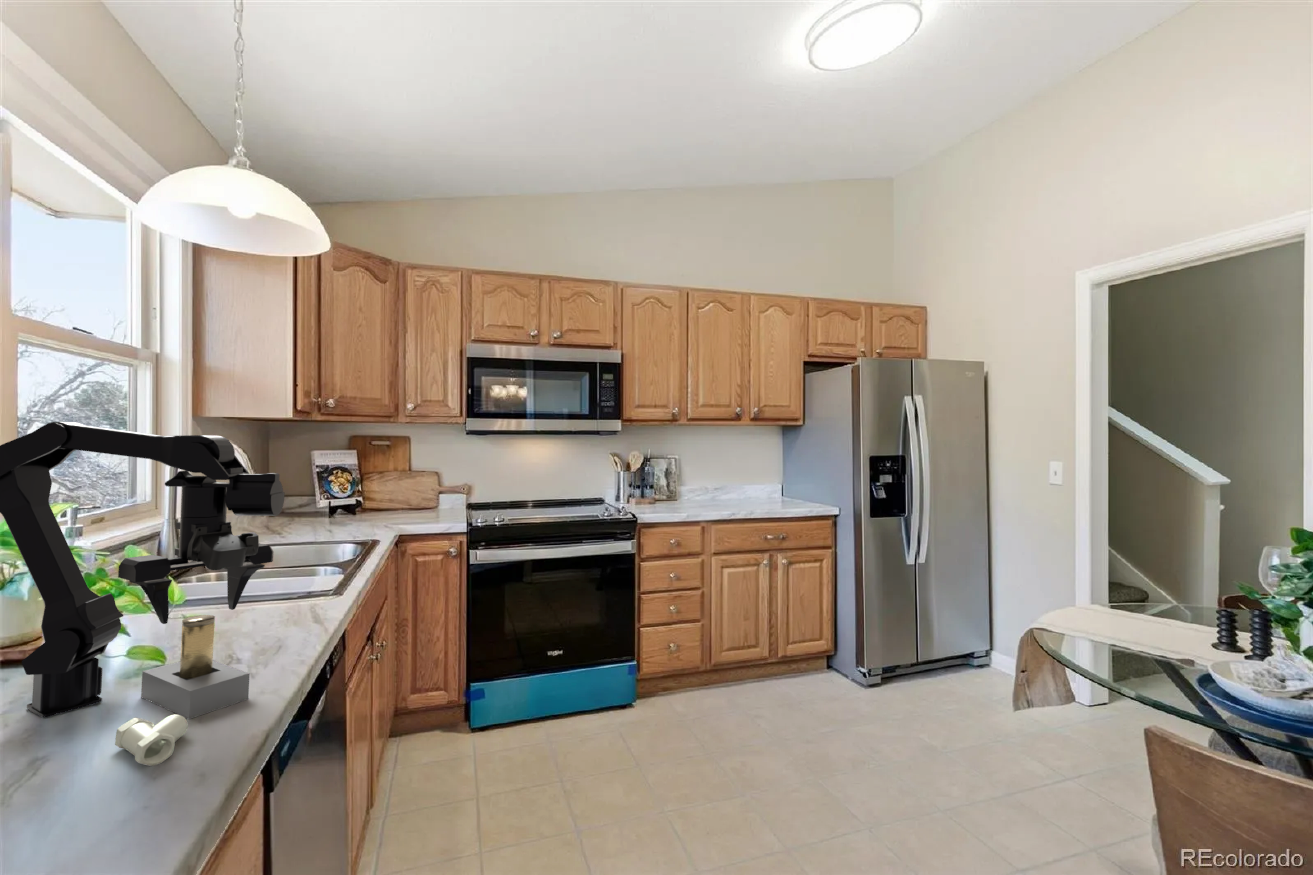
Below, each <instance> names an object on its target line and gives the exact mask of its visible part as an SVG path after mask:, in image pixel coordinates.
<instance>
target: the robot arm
mask: <svg viewBox="0 0 1313 875" xmlns="http://www.w3.org/2000/svg"><path fill="white" fill-rule="evenodd" d="M75 451H82V452H91V453H97V454H98V453H99V454H107V455H115V456H123V457H131V458H138V459H145V460H146V459H147V460H153V461H156V462H159V463H162V464H163V465H166V466H168V467H171V468H175V469H178V470H179V471H178V472H177V473H176V474H175V475H174V476H172V477H171V478H170V479H168V480H166V481H165V482H164V486H165V487H170V488H171V487H175V488H176V487H181V500H180V518H179V519H180V521H175V529H177V530H179V544H178V547H176V548H174V556H177V557H172V558H171V557H164V556H160V555H156V554H148V555H140V556H132V557H131V556H130V557H125V558H123V560H122V561H120V563H119V565H118V570H117V571H118V576H117V577H118V578H119V579H122V580H127V581H129V583H132V584H135V585H139V586H140V588H141V589H142V590H143V592H144V594H145V595H146V597H147V598H148V600H149V601H150V604H151V606H152V608H153V610H154V612H155V613H156V615H157V618H158V620H159V622H160V624H163V625H166V624H168V621H169V615H170V612H169V606H170V605H169V588H170V586H171V584H172V582H173V579H170V578H167V577H168V575H169V574H171V571H172V572H173V571H179V570H187V569H194V568H200V567H206V568H207V569H208V570H210V571H221V570H222V569H226V571H227V574H226V575H227V577H226V578H227V606H228V610H235V609H236V607H237V605H238V603H239V601H240V598H241V597H242V594H243V592H244V590H245V588H246V585H247V584H248V582H249V580H250V579H251V577H252V576H253V574H255V573H256V572H257V571H259V570H261V569H264V567H265V564H267V563H268V564H269V563H273V562H274V550H273V548H272V547H271V546H270V545H269V544H265V543H260V542H259V540H260V539H259V535H258V534H257V532H254V531H253V532H252V531H251V532H243V533H241V534H236V535H233V531H232V527H233V526H232V524H231V523H232V522H230V521H227V512H228V511H231V512H232V513H233V514H234V516H239V517H240V516H241V517H242V516H244V517H247V516H250V517H251V516H253V517H255V516H256V517H257V516H258V517H260V516H265V517H266V516H267V517H268V516H270V517H271V516H273V517H277V516H279V515H280V513H281V512H282V510H283V507H284V503H285V492H284V489H283V485H282V482H281V480H280V476H281V475H280V473H279V472H276V473H275V472H270V473H269V472H267V473H250V472H249V471H248V470H247V469H246V467H245V466H244V465H243V464H242V462H241V461H240V459H238V457H237V456H236V455H235V454H236V453H235V452H236V451H235V448H234V445H233V444H232V443H231V441H230V440H229V439H228V438H226V437H225V436H221V435H203V434H202V435H201V434H199V435H198V434H197V435H196V434H193V435H189V434H188V435H159V434H153V433H144V432H136V431H130V430H129V431H128V430H124V429H123V430H122V429H115V428H107V427H100V426H92V425H85V424H82V423H79V422H75V421H74V422H73V421H51V422H48V423H46V424H44V425H42V426H40V427H39V428H37V429H36V430H33V431H32V432H30V433H27V434H24V435H22V436H20V437H18V438H15V439H13V440H10V441H7V442H5V443H2V444H0V514H1V516H2V517H3V519H4V522H5V524H6V525H7V527H8V530H9V531H10V534H11V535H12V536H11V537H13V540H14V542H15V545H16V546H17V548H18V550H19V552H20V555H21V556H22V559H23V561H24V564H25V565H26V567H27V570H28V572H29V573H30V576H31V578H32V580H33V582H34V584H35V586H36V588H37V590H38V592H39V595H40V597H41V599H42V601H43V604H44V609H43V613H42V614H43V615H42V620H41V626H40V627H41V628H40V629H41V633H42V635H43V636H42V637H43V641H44V642H43V643H42V644H41V645H40V646H38V647H37V648H36V649H35V650H34V651H32V652H31V653H30V654H28V655H27V656H26V657H24V659H22V660H21V665H22V667H23V670H24V672H25V674H26V675H27V676H30V675H31V676H33V679H32V680H33V682H32V694H31V696H32V698H31V699H32V700H31V703H28V704H27V705H26V709H27V710H29V711H31V712H33V713H34V714H36V715H38V716H39V717H41V718H43V719H44V718H50V717H53V716H56V715H59V714H63V713H67V712H72V711H75V710H78V709H81V708H85V707H88V706H92V705H95V704H98V703H101V702H103V698H102V697H100V695H101V694H102V685H103V684H102V683H103V667H101V666H100V665H99V660H100V659H99V658H97V657H98V656H99V655H102V654H104V653H105V651H106V650H107V647H108V645H109V643H111V642H113V641H114V640H115V639H116V638H117V636H118V634H119V633H120V631H121V630H122V622H121V621H122V620H121V619H120V618H123V617H124V613H122V612H121V611H120V610H119V609H118V608H117V604H116V601H115V596H114V595H113V594H112V593H110V592H109V593H106V594H104V595H102V596H100V595H98V594H97V593H96V592H95V591H93V590H91V588H90V587H89V586H88V585H87V582H86V580H85V578H84V576H83V574H82V572H81V569H80V567H79V565H78V564H77V561H76V559H75V557H74V554H73V552H72V550H71V548H70V546H69V544H68V542H67V539H66V537H65V535H64V533H63V531H62V529H61V526H60V524H59V522H58V520H57V518H56V515H55V514H54V512H53V509H52V507H51V505H50V494H51V489H52V485H53V484H52V483H53V482H52V477H51V473H50V471H51V470H53V469H54V468H56V467H58V466H60V465H61V464H63V463H64V462H65V461H66V460H67V459H68V458H69V457H70V456H71V455H72V454H73V452H75ZM191 473H194V474H199V473H200V474H202V475H192V474H191ZM218 481H219V482H218ZM221 481H224V482H221ZM225 481H229V482H225Z"/></svg>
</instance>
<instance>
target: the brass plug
mask: <svg viewBox="0 0 1313 875" xmlns="http://www.w3.org/2000/svg"><path fill="white" fill-rule="evenodd" d="M215 619H216V616H215V615H212V614H201V615H194V616H189V617H186V618H185V617H184V618H183V619H182V622H181V625H182V626H181V642H180V661H179V662H180V678H184V679H191V678H196V677H200V676H203V675H207V674H210V673H211V672H212V665H213V660H214V642H215V640H214V639H215V621H216V620H215Z"/></svg>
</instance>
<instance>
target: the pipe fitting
mask: <svg viewBox="0 0 1313 875" xmlns="http://www.w3.org/2000/svg"><path fill="white" fill-rule="evenodd" d="M188 727H189V723H188V720H187V718H185V717H183V716H181V715H179V714H171V715H168V716H166V717H165V718H163V719H162V720H160V721H159V722H157V723H156V724H154V722H152V721H151V720H147V719H144V718H141V717H136V716H135V717H133V718H131V719H129V720H127V721H126V722H124V723H123V724H122V725H120V726H119V727H118V728H117V729H116V732H115V740H114V741H115V743H114V745H115V746H117V747H118V749H122V750H126V751H127V752H128V753H129V754H132V755H133V756H134V761H135V762H137V763H138V764H141V765H146V766H150V767H155V766H157V765H159V764H161V763H163V762H164V761H166V760H167V759H168V758H170V757H171V756H172V755H173V754H174V750H175V744H176V743H175V742H177V741H178V740H179V739H180V738H182V737H183V736H184V735H185V734H186V732H187V730H188Z"/></svg>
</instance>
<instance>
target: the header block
mask: <svg viewBox="0 0 1313 875" xmlns="http://www.w3.org/2000/svg"><path fill="white" fill-rule="evenodd" d="M249 691H250V672H248V671H245V670H241V669H239V668H236V667H233V666H231V665H227V664H225V663H222V662H219V661H216V660H214V659H213V665H212V672H211V673H210V674H207V675H203V676H200V677H196V678H191V679H184V678H180V661H177V662H172V663H168V664H165V665H164V664H163V665H161V666H158V667H157V666H156V667H153V668H150V669H145V670H142V673H141V691H140V692H141V694H140V697H141V698H142V697H143V698H142V699H144V698H145V699H144V700H146V699H147V701H148V700H150V701H149V702H151V701H152V702H151V703H153V702H154V703H153V704H155V705H157V704H158V705H157V706H159V705H161V706H162V708H164V709H166V710H168V711H170V712H173V713H175V714H176V715H181V716H183V717H184V718H185V719H186V720H187V719H188V720H190V719H193V718H197V717H198V716H203V715H205V714H208V713H210V712H214V711H217V710H220V709H223V708H227V707H229V706H232V705H234V704H238V703H241V702H244V701H247V700H249ZM161 706H160V707H161Z"/></svg>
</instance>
